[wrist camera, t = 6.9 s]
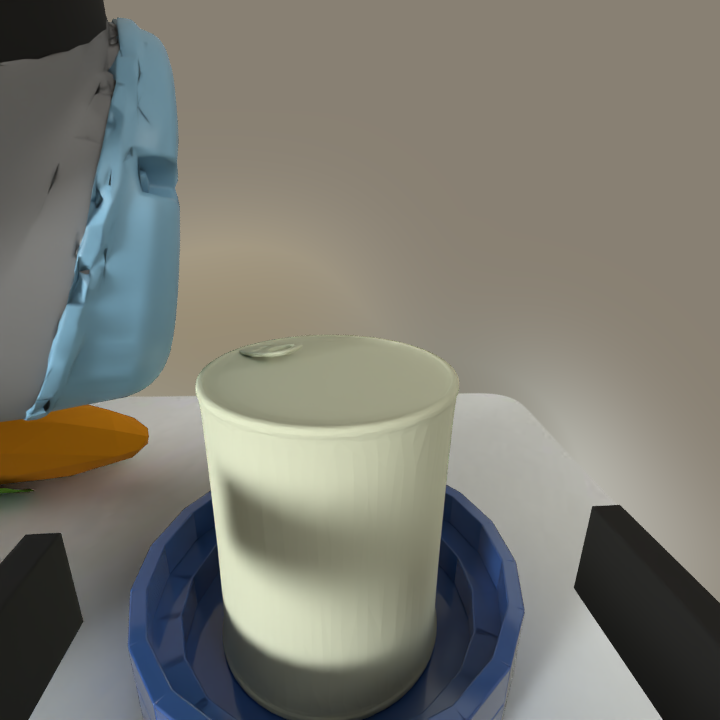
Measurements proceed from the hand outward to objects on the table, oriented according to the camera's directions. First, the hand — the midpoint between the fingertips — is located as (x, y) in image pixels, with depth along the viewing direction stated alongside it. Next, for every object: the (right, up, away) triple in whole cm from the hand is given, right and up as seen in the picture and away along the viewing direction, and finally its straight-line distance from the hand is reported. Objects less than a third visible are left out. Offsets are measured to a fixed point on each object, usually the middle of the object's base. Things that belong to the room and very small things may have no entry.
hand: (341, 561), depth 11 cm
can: (-1, -6, +8) cm, 11 cm away
